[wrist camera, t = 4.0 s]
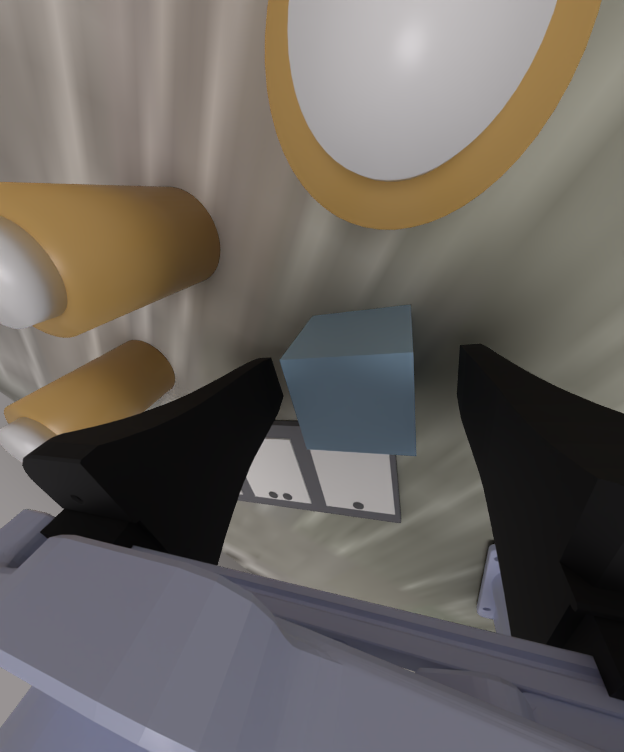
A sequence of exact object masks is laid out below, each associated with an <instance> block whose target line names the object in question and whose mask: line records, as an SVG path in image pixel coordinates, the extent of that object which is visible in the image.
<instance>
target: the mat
mask: <svg viewBox="0 0 624 752" xmlns="http://www.w3.org/2000/svg"><path fill="white" fill-rule="evenodd" d="M238 500H239V501H246V502H253V503H261V504H268V505H275V506H282V507H289V508H296V509H303V510H310V511H317V512H324V513H331V514H339V515H346V516H353V517H360V518H367V519H374V520H381V521H388V522H395V523H401V512H400V500H399V488H398V476H397V464H396V455H389V454H373V453H357V452H341V451H325V450H308V449H307V448H306V445H305V442H304V438H303V435H302V432H301V429H300V425H299V422H298V421H274V422H273V424H272V426H271V428H270V430H269V432H268V434H267V436H266V437H265V439H264V441H263V443H262V445H261V447H260V449H259V450H258V452H257V454H256V456H255V458H254V460H253V462H252V464H251V466H250V469H249V471H248V474H247V476H246V479H245V481H244V484H243V486H242V489H241V492H240V494H239V497H238Z"/></svg>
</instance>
